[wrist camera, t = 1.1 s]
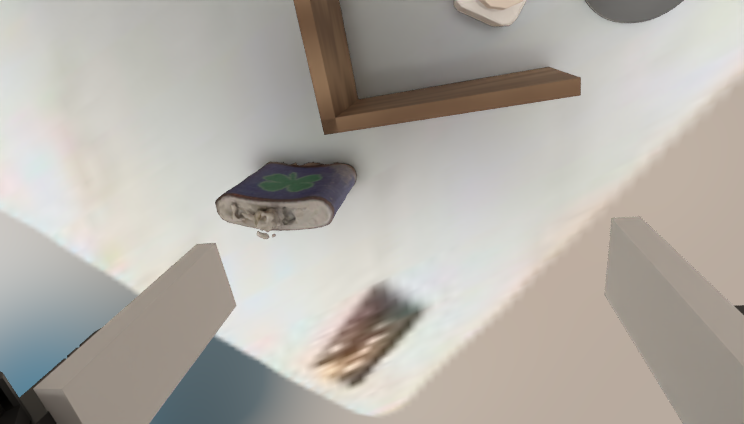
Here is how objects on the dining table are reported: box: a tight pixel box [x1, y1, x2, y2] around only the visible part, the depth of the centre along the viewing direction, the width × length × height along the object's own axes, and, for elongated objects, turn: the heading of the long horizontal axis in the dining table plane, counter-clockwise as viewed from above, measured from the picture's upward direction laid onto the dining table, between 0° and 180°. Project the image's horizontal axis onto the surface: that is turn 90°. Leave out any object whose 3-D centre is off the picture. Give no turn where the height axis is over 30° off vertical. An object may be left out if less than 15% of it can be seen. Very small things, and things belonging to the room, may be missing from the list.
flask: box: [215, 162, 356, 239], centre depth 33 cm, size 9×3×11 cm, turn 91°
